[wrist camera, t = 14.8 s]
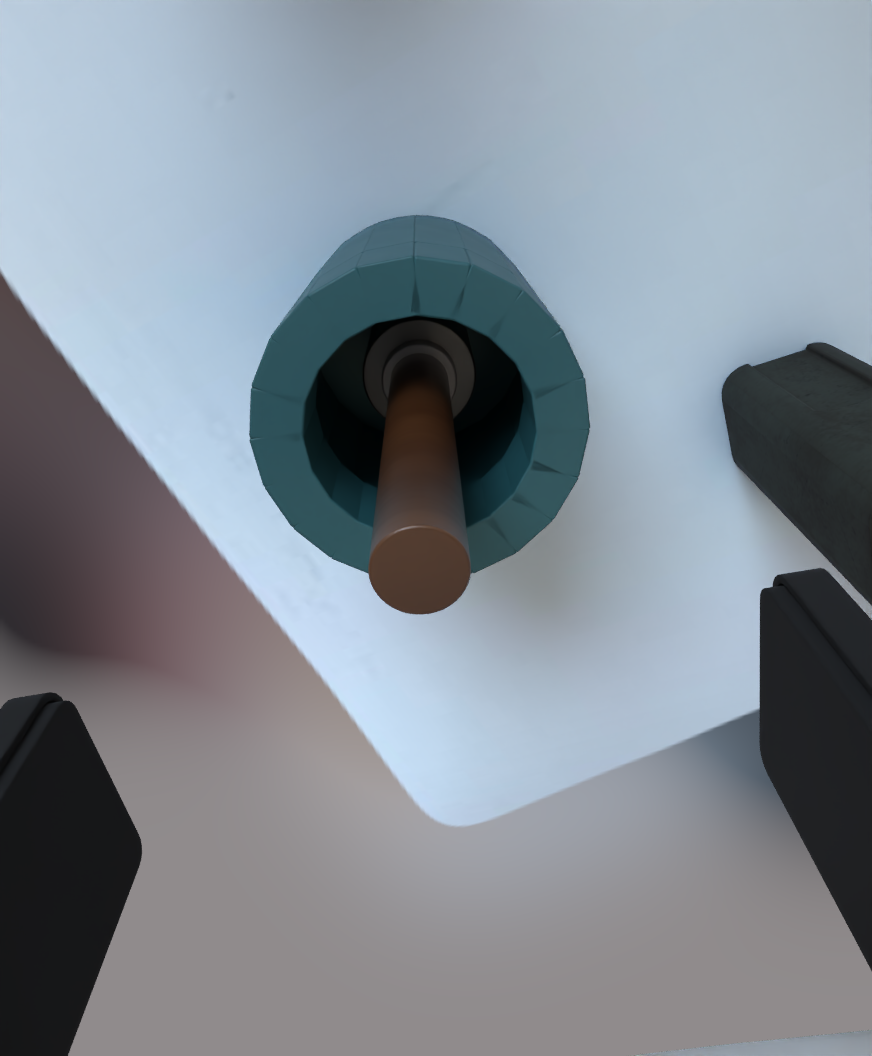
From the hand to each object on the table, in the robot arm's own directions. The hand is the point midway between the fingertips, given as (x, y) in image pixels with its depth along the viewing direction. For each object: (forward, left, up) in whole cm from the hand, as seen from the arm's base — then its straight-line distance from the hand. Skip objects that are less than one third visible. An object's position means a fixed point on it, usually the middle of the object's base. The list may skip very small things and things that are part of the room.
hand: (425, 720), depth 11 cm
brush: (0, 0, -24) cm, 24 cm away
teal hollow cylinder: (0, 0, -25) cm, 25 cm away
